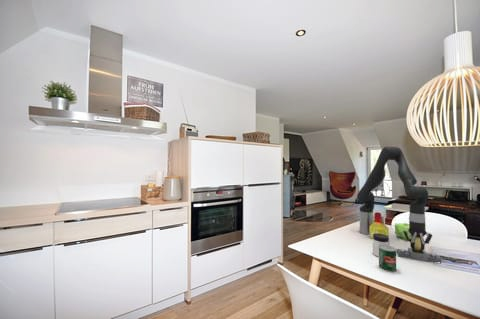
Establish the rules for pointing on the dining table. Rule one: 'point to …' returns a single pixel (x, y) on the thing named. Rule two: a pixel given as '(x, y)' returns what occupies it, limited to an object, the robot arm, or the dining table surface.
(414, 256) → the bolt keeper plate
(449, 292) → the dining table surface
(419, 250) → the pin
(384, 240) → the jar
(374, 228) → the bottle
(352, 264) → the dining table surface
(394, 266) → the canned tomato
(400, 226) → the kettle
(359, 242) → the dining table surface
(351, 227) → the dining table surface
